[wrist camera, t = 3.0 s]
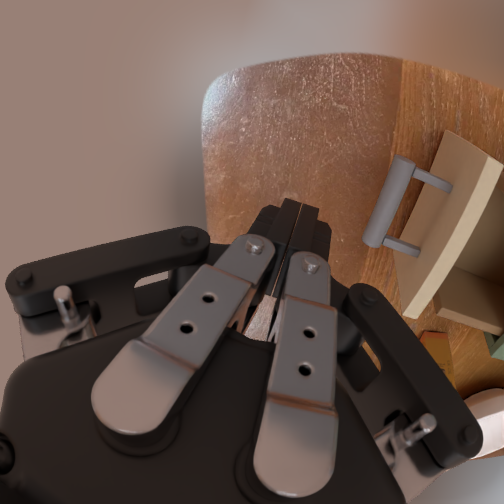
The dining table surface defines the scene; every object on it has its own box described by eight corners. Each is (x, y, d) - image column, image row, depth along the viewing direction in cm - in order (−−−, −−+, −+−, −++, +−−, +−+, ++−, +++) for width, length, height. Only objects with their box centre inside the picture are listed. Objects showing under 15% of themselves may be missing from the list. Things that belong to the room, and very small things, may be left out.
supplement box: (413, 349, 30) (417, 424, 22) (423, 329, 28) (432, 408, 20) (437, 351, 29) (444, 424, 21) (448, 332, 27) (461, 408, 19)
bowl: (524, 346, 25) (537, 389, 19) (534, 396, 28) (540, 428, 23) (407, 403, 36) (406, 445, 30) (446, 437, 40) (446, 468, 34)
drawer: (348, 235, 24) (345, 296, 18) (395, 105, 18) (421, 120, 11) (498, 294, 22) (521, 352, 16) (553, 198, 15) (598, 243, 9)
